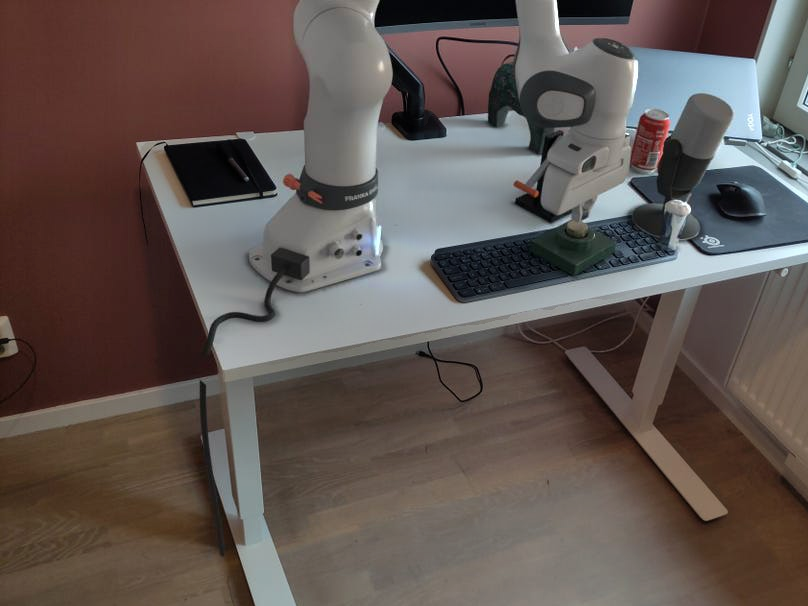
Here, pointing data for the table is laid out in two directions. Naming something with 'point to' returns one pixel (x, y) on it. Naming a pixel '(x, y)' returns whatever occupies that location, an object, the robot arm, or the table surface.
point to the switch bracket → (534, 203)
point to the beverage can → (649, 140)
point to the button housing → (572, 249)
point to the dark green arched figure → (511, 105)
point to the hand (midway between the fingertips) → (579, 219)
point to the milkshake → (673, 223)
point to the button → (576, 229)
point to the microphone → (686, 159)
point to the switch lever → (535, 177)
